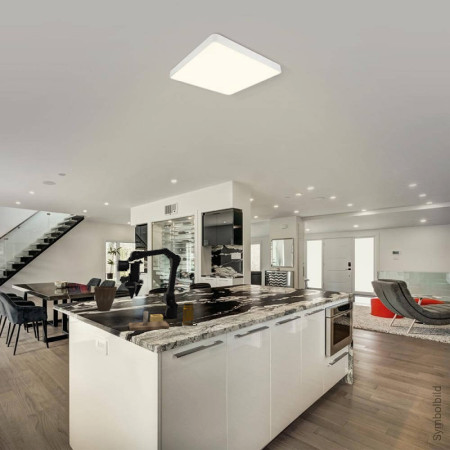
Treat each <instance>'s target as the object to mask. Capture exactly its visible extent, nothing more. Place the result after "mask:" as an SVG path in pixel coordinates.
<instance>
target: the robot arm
mask: <svg viewBox="0 0 450 450" xmlns="http://www.w3.org/2000/svg"><path fill="white" fill-rule="evenodd" d="M161 255H164V256H165V257H166V258H167V259H168V260H169V268H170V269H169V275H168V283H167V288H166V289H167V290H166V291H165V292H163V297H162V301H163V303H164V304H165V306H166V309H165V314H164V315H165V317H166V319H178V308H179V304H178V303H177V302H176V295H175V294H176V293H175V287H176V280H177V273H178V268H179V266H180V265H181V260H182V258H181V256H180V255H179V254H176V253H174V252H173V251H171V250H170V249H169V248H168V247H163V248H158V249H151V250H132V251H131V252H130V254H129V257H128V258H127V259H126V260H121V259H118V260H117V264H116V272H119V273H121V272H128V271H129V273H128V275H127V276H125V275H122V276H121V275H120V276H119V282H120V284H124V287H125V289H127V290H128V293H129V296H130V299H132V300H133V298H134V296H135V297H138V295H140V291H141V289H142V287H143V285H144V279H142V278H141V279H140V276H141V273H142V272H141V265H143V264H144V262H143V261H142V260H141V259H144V258H148V257H153V256H161Z"/></svg>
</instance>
